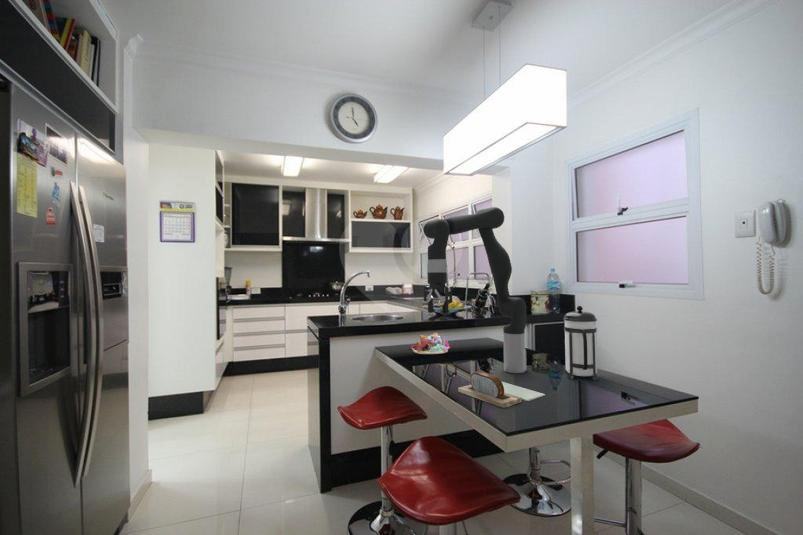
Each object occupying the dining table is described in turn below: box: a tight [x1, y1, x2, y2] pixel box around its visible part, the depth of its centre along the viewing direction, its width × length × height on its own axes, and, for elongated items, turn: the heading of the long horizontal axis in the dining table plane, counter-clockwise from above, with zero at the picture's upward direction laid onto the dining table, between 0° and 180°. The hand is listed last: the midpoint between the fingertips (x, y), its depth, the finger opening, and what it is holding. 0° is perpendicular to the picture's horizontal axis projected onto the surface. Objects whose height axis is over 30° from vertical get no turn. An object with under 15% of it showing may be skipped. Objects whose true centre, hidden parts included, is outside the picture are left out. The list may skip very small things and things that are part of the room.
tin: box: [470, 370, 504, 399], centre depth 134 cm, size 15×3×8 cm, turn 30°
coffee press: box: [563, 305, 599, 382], centre depth 157 cm, size 17×16×30 cm
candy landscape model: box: [409, 332, 451, 355], centre depth 219 cm, size 25×24×9 cm
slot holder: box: [457, 384, 522, 409], centre depth 134 cm, size 9×21×2 cm, turn 35°
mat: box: [501, 381, 546, 402], centre depth 141 cm, size 10×22×1 cm, turn 35°
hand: (437, 313), depth 143 cm, fingers open, 8 cm apart
